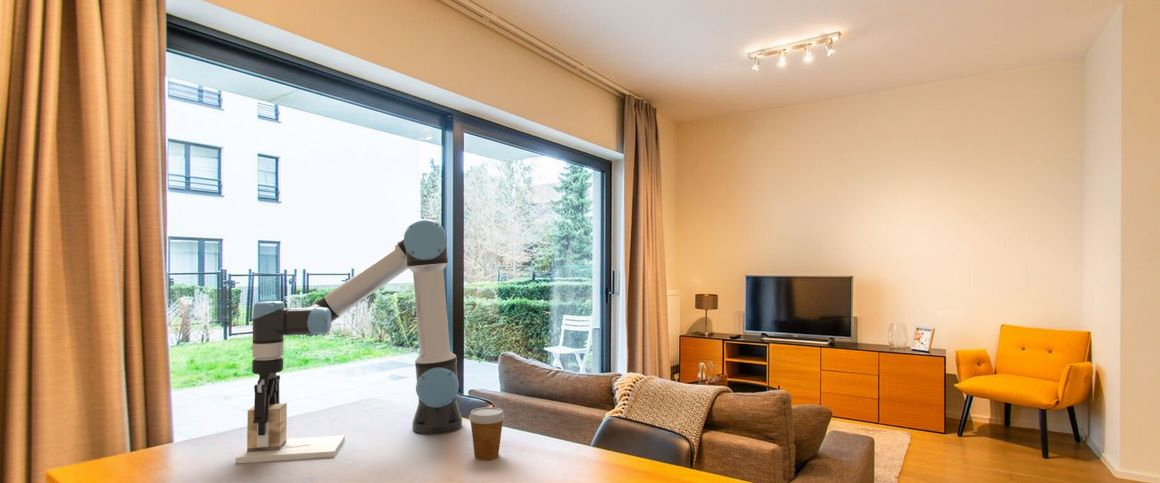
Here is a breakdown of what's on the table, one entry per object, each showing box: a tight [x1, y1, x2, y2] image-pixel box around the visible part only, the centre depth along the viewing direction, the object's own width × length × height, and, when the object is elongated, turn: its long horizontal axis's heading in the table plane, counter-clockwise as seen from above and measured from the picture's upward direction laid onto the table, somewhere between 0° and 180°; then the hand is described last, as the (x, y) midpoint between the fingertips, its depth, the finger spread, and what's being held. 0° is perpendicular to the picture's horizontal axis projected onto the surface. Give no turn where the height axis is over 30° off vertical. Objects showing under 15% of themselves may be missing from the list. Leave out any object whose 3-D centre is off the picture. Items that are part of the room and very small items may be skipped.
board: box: [235, 435, 346, 464], centre depth 157 cm, size 24×14×2 cm, turn 102°
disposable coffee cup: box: [468, 406, 505, 461], centre depth 153 cm, size 10×10×12 cm
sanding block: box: [246, 402, 288, 452], centre depth 156 cm, size 8×6×11 cm
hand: (266, 442), depth 156 cm, fingers closed on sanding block, 6 cm apart
